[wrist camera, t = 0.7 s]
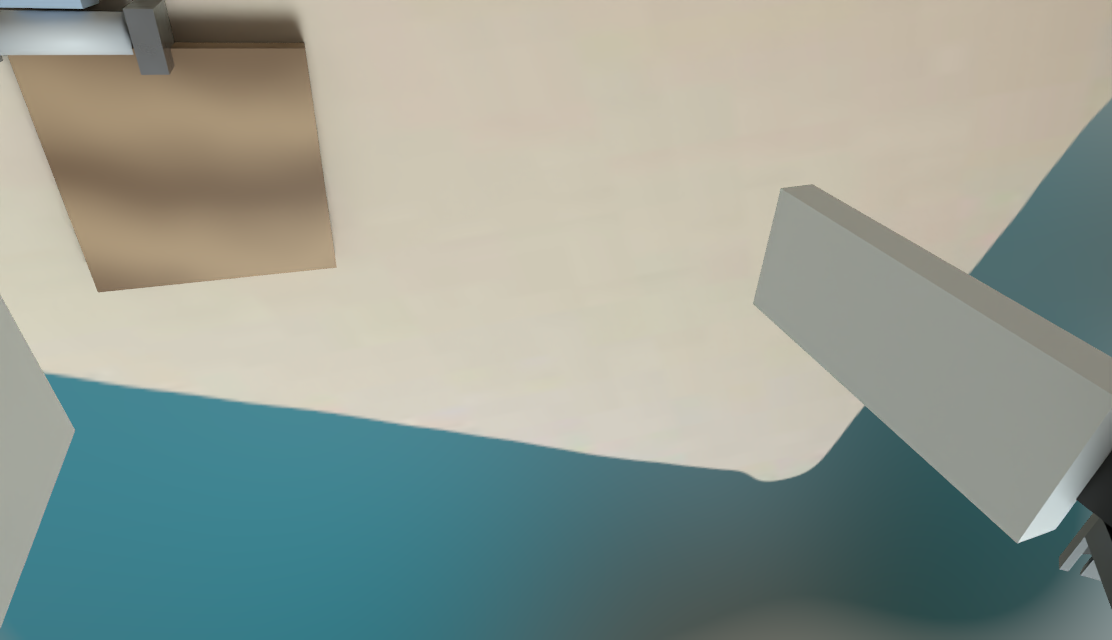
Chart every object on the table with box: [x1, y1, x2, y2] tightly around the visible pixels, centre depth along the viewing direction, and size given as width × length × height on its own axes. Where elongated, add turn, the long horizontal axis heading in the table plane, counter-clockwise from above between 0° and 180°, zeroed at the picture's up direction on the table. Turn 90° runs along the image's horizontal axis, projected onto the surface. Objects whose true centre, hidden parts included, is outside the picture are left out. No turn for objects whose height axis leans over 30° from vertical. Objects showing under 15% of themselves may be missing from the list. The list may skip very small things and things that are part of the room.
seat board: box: [8, 42, 336, 292], centre depth 30 cm, size 11×11×1 cm
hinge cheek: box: [123, 0, 175, 75], centre depth 26 cm, size 2×1×3 cm, turn 177°
